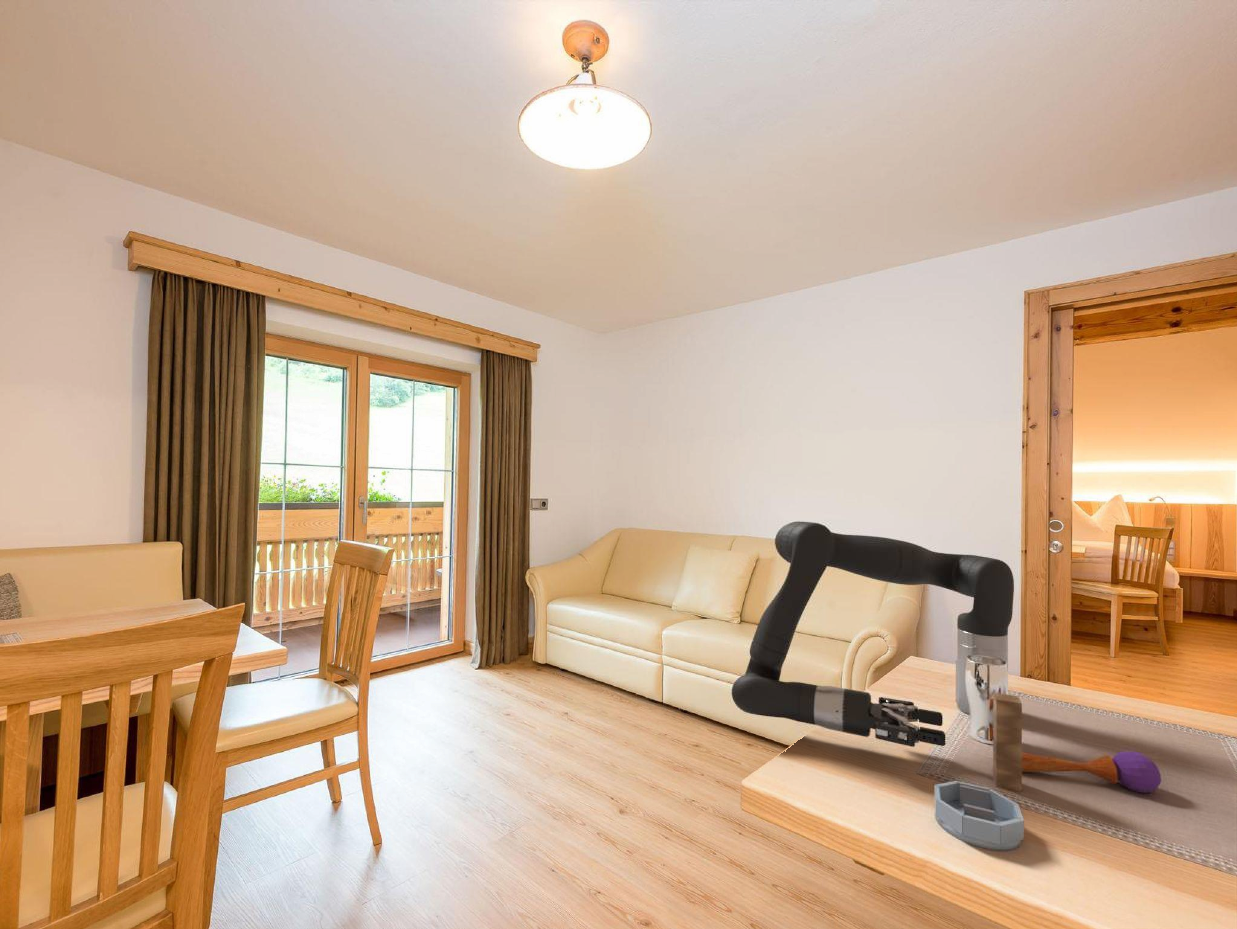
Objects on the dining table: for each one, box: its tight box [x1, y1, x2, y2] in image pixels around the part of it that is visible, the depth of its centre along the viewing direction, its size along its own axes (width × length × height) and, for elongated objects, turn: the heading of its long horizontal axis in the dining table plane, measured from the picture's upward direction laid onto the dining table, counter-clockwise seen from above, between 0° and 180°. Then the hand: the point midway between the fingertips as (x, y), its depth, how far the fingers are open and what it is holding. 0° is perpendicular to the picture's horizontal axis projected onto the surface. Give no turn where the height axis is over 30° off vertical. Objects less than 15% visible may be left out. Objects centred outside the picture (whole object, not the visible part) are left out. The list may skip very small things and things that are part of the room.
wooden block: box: [992, 692, 1023, 793], centre depth 92 cm, size 3×3×14 cm
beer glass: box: [965, 655, 1009, 745], centre depth 109 cm, size 7×7×15 cm
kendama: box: [1022, 750, 1162, 794], centre depth 93 cm, size 6×6×20 cm
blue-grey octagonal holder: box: [933, 780, 1025, 852], centre depth 80 cm, size 10×10×4 cm
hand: (943, 728), depth 96 cm, fingers open, 8 cm apart
